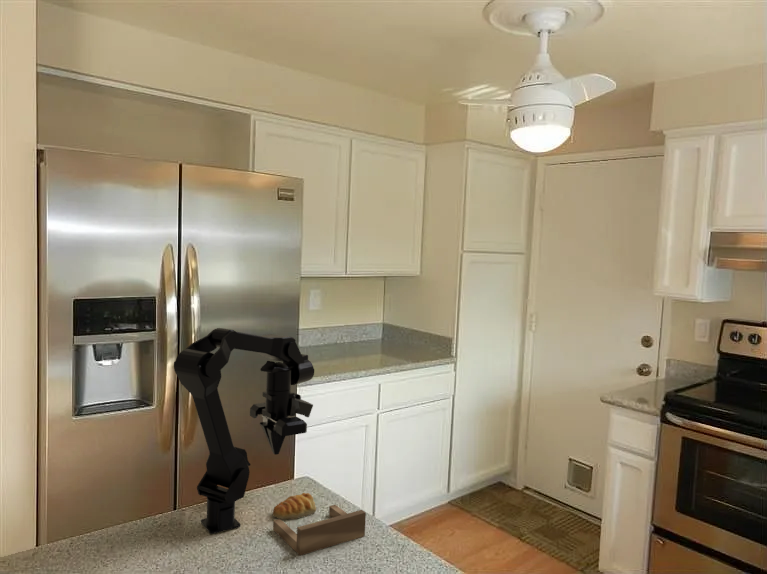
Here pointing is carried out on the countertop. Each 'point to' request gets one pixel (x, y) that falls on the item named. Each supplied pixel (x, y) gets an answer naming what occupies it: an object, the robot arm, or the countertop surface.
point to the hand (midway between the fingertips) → (276, 454)
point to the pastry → (295, 507)
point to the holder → (323, 531)
